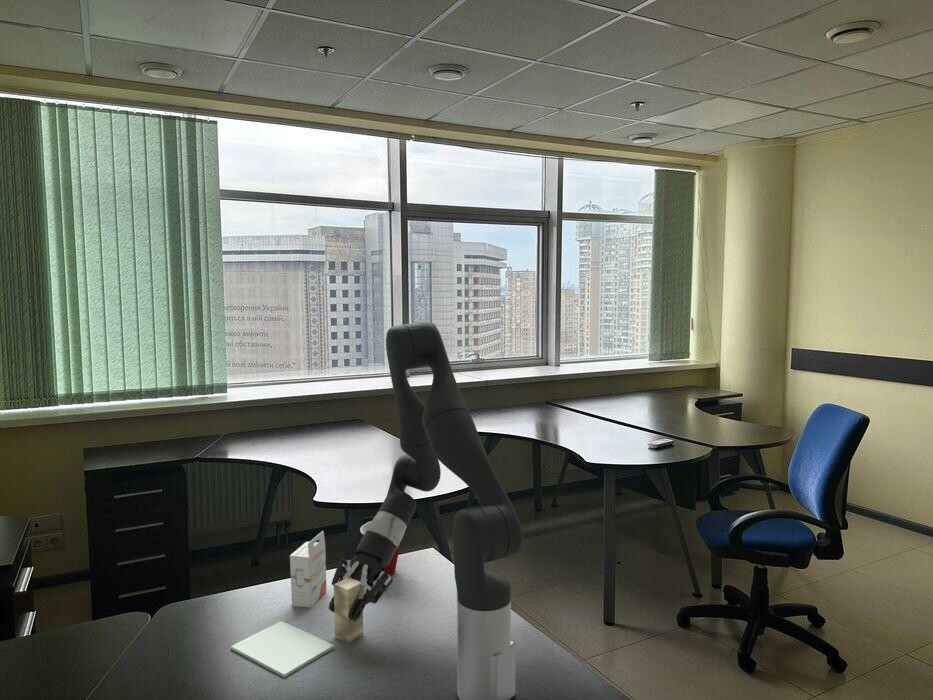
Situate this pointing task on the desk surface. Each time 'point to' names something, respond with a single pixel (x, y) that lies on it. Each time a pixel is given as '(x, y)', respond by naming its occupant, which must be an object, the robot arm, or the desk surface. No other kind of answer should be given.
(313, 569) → the ink cartridge box
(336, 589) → the birch block
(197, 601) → the desk surface
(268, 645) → the sage mat
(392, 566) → the plastic cup
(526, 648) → the desk surface
